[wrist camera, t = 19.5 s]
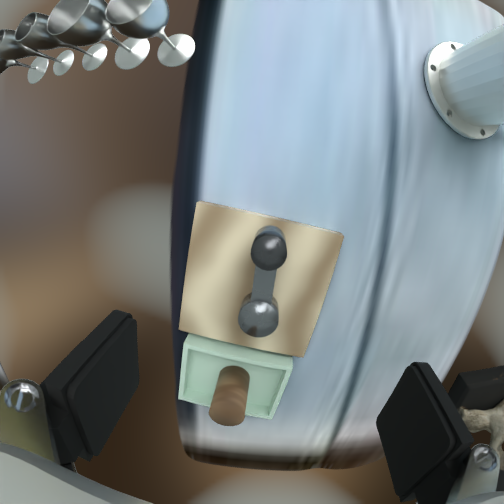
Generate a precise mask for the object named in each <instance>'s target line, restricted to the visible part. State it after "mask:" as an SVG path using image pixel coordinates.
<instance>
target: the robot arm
mask: <svg viewBox="0 0 504 504" xmlns="http://www.w3.org/2000/svg"><path fill="white" fill-rule="evenodd" d="M424 77H425V82H426V87H427V90H428V93H429V96H430V98H431V100H432V102H433V104H434V106H435V108H436V110H437V111H438V113H439V114H440V116H441V117H442V118H443V120H444V121H445V122H446V123H447V124H448V125H449V126H450V127H451V128H452V129H453V130H454V131H456V132H457V133H459V134H460V135H462V136H464V137H467V138H470V139H475V140H476V139H485V138H489V137H490V136H492V135H493V134H494V133H495V132H496V131H497V130H498V128H499V126H500V125H503V124H504V24H503V25H501V26H499V27H497V28H495V29H493V30H491V31H489V32H487V33H485V34H483V35H481V36H479V37H478V38H476V39H474V40H472V41H470V42H468V43H467V44H465V45H462V44H459V43H456V42H442V43H440V44H438V45H436V46H435V47H434V48H432V49H431V50H430V52H429V53H428V55H427V57H426V60H425V66H424ZM138 384H139V368H138V349H137V322H136V320H135V319H133V318H132V315H131V314H130V313H126V312H122V311H119V310H114V311H112V312H111V313H110V315H108V316H107V317H106V318H105V319H104V320H103V321H102V322H101V323H100V324H99V325H98V326H97V327H96V328H95V329H94V330H93V331H92V332H91V333H90V334H89V335H88V336H87V337H86V338H85V339H84V340H83V341H82V342H80V343H79V345H77V346H76V347H75V348H74V350H72V351H71V352H70V354H69V355H68V356H67V357H66V358H65V359H64V360H63V361H62V362H61V363H60V364H59V365H58V366H57V367H56V368H55V369H54V370H53V371H52V373H50V374H49V376H48V377H47V378H46V379H45V380H44V381H43V382H42V383H41V384H40V385H38V384H36V383H35V382H34V381H31V380H28V379H17V380H13V381H11V382H9V383H8V384H6V385H5V386H4V387H3V389H2V391H1V393H0V504H153V503H150V502H146V501H143V500H141V499H137V498H135V497H132V496H129V495H126V494H124V493H121V492H118V491H116V490H113V489H111V488H108V487H106V486H103V485H101V484H99V483H97V482H94V481H92V480H90V479H88V478H86V477H83V476H81V475H79V474H77V472H76V468H75V465H74V462H75V461H76V460H77V458H78V456H79V457H81V458H83V459H85V460H87V461H90V460H91V458H92V457H93V455H94V456H98V455H99V454H100V452H101V450H102V448H103V447H104V445H105V443H106V441H107V439H108V438H109V436H110V434H111V432H112V431H113V429H114V427H115V425H116V424H117V422H118V420H119V418H120V417H121V415H122V413H123V411H124V410H125V408H126V406H127V404H128V402H129V401H130V399H131V398H132V396H133V394H134V392H135V391H136V389H137V387H138ZM376 425H377V429H378V432H379V435H380V439H381V442H382V446H383V449H384V452H385V456H386V459H387V463H388V467H389V470H390V474H391V478H392V481H393V485H394V489H395V493H396V494H397V495H398V496H399V498H400V502H405V501H410V500H413V499H415V498H416V499H417V503H416V504H504V471H503V470H501V469H500V458H499V455H498V454H497V452H496V451H495V450H494V449H493V448H492V447H490V446H488V445H485V444H478V445H476V446H474V447H473V448H472V449H470V447H469V446H470V445H471V444H472V443H473V442H474V439H473V437H472V435H471V433H470V431H469V430H468V428H467V426H466V424H465V422H464V421H463V419H462V417H461V415H460V414H459V412H458V410H457V409H456V407H455V405H454V403H453V402H452V400H451V398H450V397H449V395H448V393H447V392H446V390H445V389H444V387H443V385H442V384H441V382H440V381H439V379H438V377H437V376H436V374H435V373H434V371H433V370H432V368H431V366H430V365H429V364H428V363H425V362H413V363H412V364H411V365H410V366H408V367H407V368H406V369H405V371H404V373H403V375H402V377H401V379H400V380H399V382H398V384H397V386H396V387H395V389H394V391H393V393H392V394H391V396H390V398H389V399H388V401H387V403H386V404H385V406H384V407H383V409H382V411H381V412H380V414H379V415H378V417H377V421H376Z"/></svg>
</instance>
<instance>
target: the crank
mask: <svg viewBox="0 0 504 504" xmlns="http://www.w3.org/2000/svg"><path fill="white" fill-rule="evenodd" d="M251 258H252V261H253V263H254V264H255V272H254V280H253V287H252V293H249V294H248V295H247V296H246V297H245V298H244V299H243V301H242V303H241V307H240V311H239V315H238V323H239V326H240V328H241V329H242V331H243V332H245V333H246V334H248V335H250V336H252V337H266V336H268V335H270V334H272V333H273V332H274V331H275V330H276V328H277V326H278V323H279V306H278V302H277V300H276V299H275V298H274V297H273V290H274V284H275V278H276V271H277V269H278V268H280V267H281V266H282V265H283V264H284V263H285V261H286V258H287V247H286V239H285V235H284V233H283V232H282V230H281V229H279V228H278V227H276V226H272V225H268V226H264V227H262V228H260V229H259V230H258V231H257V233H256V235H255V238H254V241H253V244H252V248H251Z"/></svg>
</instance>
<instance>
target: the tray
mask: <svg viewBox="0 0 504 504" xmlns="http://www.w3.org/2000/svg"><path fill="white" fill-rule="evenodd" d="M232 365H234V366H239V367H242V368H244V369H245V370H246V371H247V372H248V373H249V376H250V382H249V389H248V396H247V403H246V411H245V415H248V416H253V417H259V418H265V419H271V420H272V418H273V416H274V413H275V411H276V409H277V406H278V404H279V402H280V399H281V397H282V394H283V392H284V389H285V387H286V384H287V382H288V379H289V377H290V374H291V372H292V369H293V358H292V356H291V355H286V354H281V353H275V352H270V351H265V350H260V349H256V348H251V347H246V346H242V345H237V344H233V343H229V342H225V341H220V340H216V339H212V338H208V337H204V336H200V335H197V334H193V333H189V334H188V336H187V338H186V340H185V342H184V346H183V355H182V364H181V375H180V385H179V397H178V399H181V400H184V401H188V402H192V403H195V404H199V405H203V406H207V407H210V406H211V402H212V399H213V395H214V391H215V388H216V384H217V380H218V377H219V373H220V371H221V370H222V369H223V368H224V367H226V366H232Z"/></svg>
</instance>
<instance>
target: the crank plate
mask: <svg viewBox="0 0 504 504" xmlns="http://www.w3.org/2000/svg"><path fill="white" fill-rule="evenodd" d="M268 225H272V226H276V227H278V228H279V229H281V230H282V232H283V233H284V235H285V239H286V247H287V258H286V261H285V263H284V264H283V265H282V266H281V267H280V268H278V269H277V271H276V278H275V284H274V290H273V297H274V298H275V299H276V300H277V302H278V306H279V323H278V326H277V328H276V330H275V331H274V332H273V333H272V334H270V335H268V336H266V337H252V336H250V335H248V334H246V333H245V332H243V331H242V329H241V328H240V326H239V323H238V315H239V311H240V307H241V303H242V301H243V299H244V298H245V297H246V296H247V295H248V294H249V293H252V287H253V280H254V272H255V264H254V263H253V261H252V258H251V248H252V244H253V241H254V238H255V235H256V233H257V231H258V230H259V229H260V228H262V227H264V226H268ZM343 238H344V236H343V235H342V234H341V233H339V232H335V231H331V230H327V229H323V228H319V227H315V226H311V225H307V224H303V223H299V222H294V221H290V220H286V219H282V218H277V217H273V216H269V215H264V214H260V213H255V212H251V211H246V210H242V209H237V208H233V207H228V206H223V205H218V204H214V203H209V202H204V201H199V202H197V204H196V210H195V215H194V221H193V227H192V234H191V240H190V247H189V253H188V260H187V267H186V274H185V282H184V289H183V297H182V306H181V314H180V323H179V330H182V331H185V332H189V333H193V334H197V335H200V336H204V337H208V338H212V339H216V340H220V341H225V342H229V343H233V344H237V345H242V346H246V347H251V348H256V349H260V350H265V351H270V352H275V353H281V354H286V355H291V356H297V357H304V354H305V352H306V349H307V347H308V344H309V341H310V339H311V336H312V333H313V330H314V328H315V325H316V322H317V319H318V316H319V314H320V311H321V308H322V305H323V302H324V299H325V296H326V293H327V290H328V287H329V284H330V281H331V278H332V274H333V271H334V268H335V265H336V262H337V258H338V255H339V252H340V248H341V245H342V241H343Z"/></svg>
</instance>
